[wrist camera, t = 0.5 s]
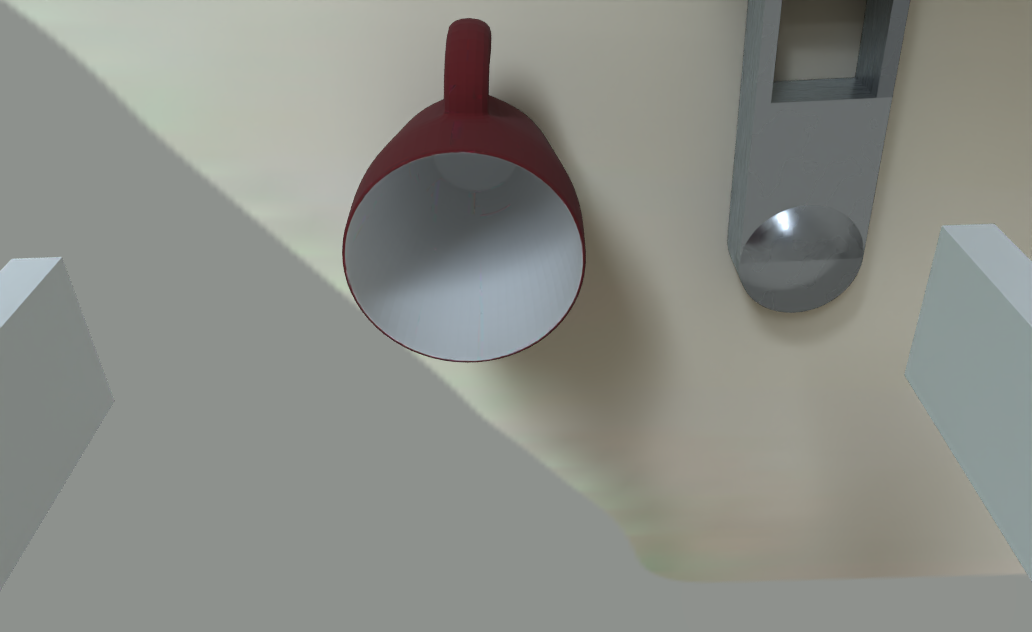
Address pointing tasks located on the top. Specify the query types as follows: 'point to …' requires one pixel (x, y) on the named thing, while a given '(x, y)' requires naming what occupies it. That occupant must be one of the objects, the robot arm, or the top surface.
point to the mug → (466, 223)
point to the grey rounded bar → (808, 162)
